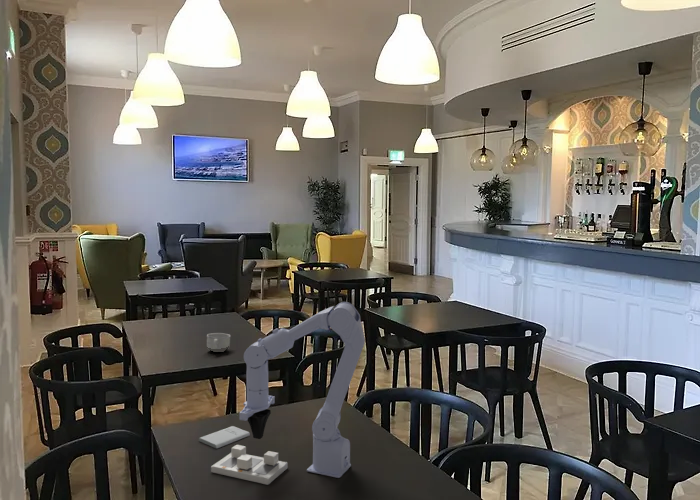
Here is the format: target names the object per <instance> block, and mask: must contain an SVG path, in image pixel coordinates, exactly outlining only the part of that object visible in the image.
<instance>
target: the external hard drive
mask: <svg viewBox="0 0 700 500" xmlns="http://www.w3.org/2000/svg"><path fill="white" fill-rule="evenodd" d="M250 434H251V433H250V432H249V431H247V430H244V429H241V428H239V427H236V426H234V425H231V426H229V427H227V428H224V429H220V430H218V431H217V430H216V431H215V432H212V433H209V434H207V435H203V436H201V437H199V438H198V442H200V443H202V444H205V445H207V446H209V447H211V448H214V449H219V448H221V447H224V446H227V445H229V444H232V443H235V442H237V441H239V440H243V439H245V438H247V437H250Z"/></svg>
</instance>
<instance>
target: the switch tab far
mask: <svg viewBox="0 0 700 500" xmlns="http://www.w3.org/2000/svg"><path fill="white" fill-rule="evenodd" d="M230 449H231V452H230V453H231V457H235V458H239V457H240V456H241V455H246V454H247V447H246V446H244V445H241V444H236V445H235V444H234V446H232V447H230Z"/></svg>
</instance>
